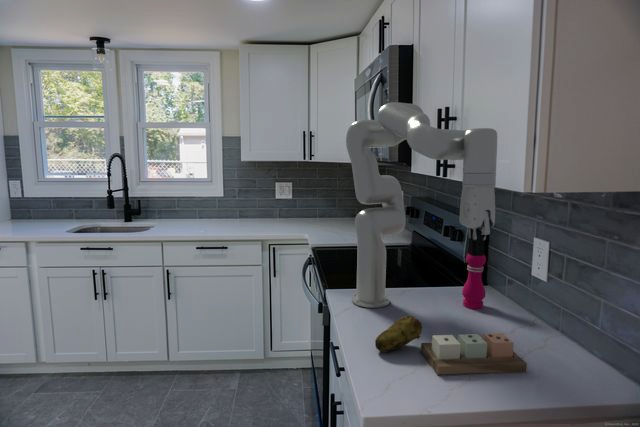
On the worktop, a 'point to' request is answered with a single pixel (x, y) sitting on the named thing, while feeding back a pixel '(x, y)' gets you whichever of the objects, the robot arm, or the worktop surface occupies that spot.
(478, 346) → the two-pip tile
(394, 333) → the potato
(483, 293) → the pepper mill
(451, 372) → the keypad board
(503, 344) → the three-pip tile
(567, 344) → the worktop surface
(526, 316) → the worktop surface
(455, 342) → the one-pip tile
